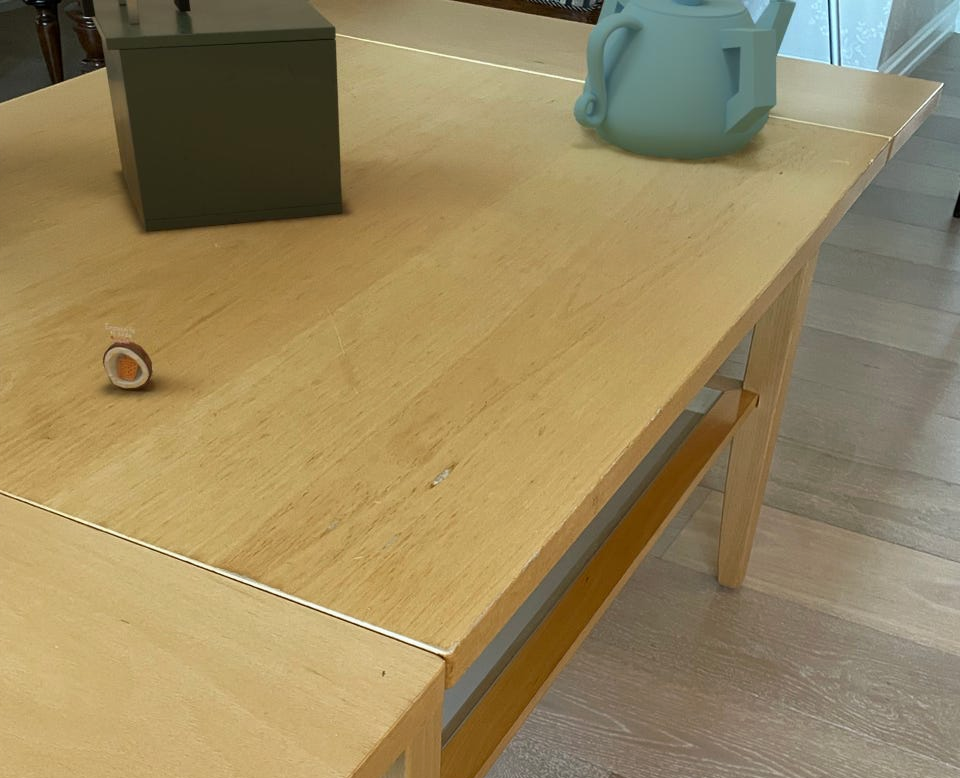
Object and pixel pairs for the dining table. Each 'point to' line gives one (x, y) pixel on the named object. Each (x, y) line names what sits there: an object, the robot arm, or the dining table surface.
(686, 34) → the teapot
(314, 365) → the dining table surface
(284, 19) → the bin lid
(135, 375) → the chocolate
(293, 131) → the trash bin
